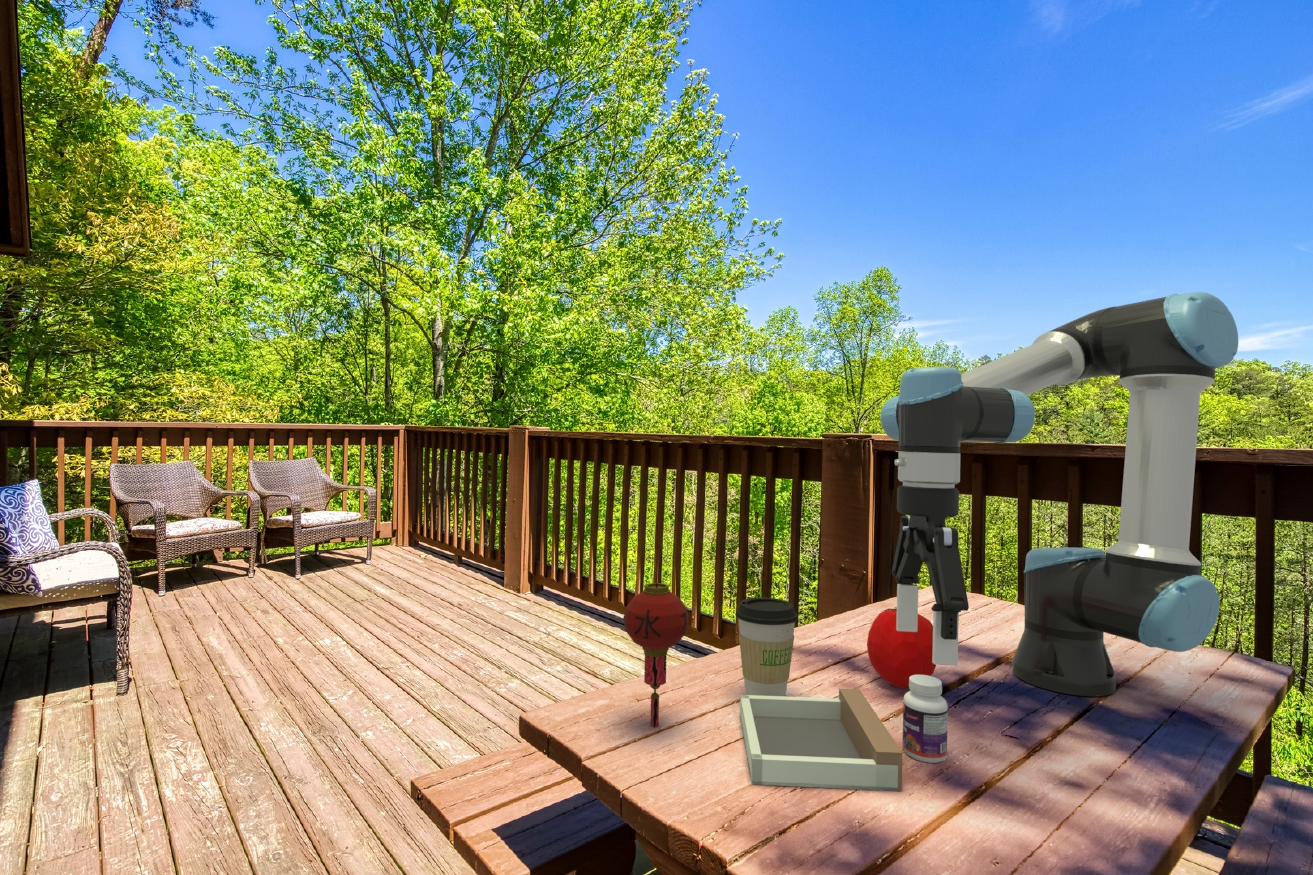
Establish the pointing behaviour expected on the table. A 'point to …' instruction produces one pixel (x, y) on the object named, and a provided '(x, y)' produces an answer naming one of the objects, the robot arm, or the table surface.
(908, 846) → the table surface
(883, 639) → the tomato
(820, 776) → the tray
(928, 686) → the pill bottle
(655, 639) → the lantern
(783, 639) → the coffee cup
